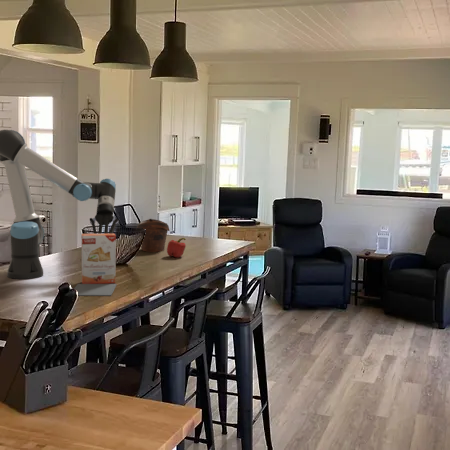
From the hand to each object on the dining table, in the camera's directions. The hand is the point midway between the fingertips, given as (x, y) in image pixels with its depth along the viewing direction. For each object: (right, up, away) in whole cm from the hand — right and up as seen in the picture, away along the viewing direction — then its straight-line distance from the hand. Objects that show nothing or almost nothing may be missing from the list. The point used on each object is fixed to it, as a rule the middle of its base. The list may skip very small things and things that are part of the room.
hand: (101, 249), depth 272 cm
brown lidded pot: (+12, -4, +84) cm, 85 cm away
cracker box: (0, -14, -5) cm, 15 cm away
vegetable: (+28, -6, +63) cm, 69 cm away
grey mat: (+1, -15, -19) cm, 25 cm away
